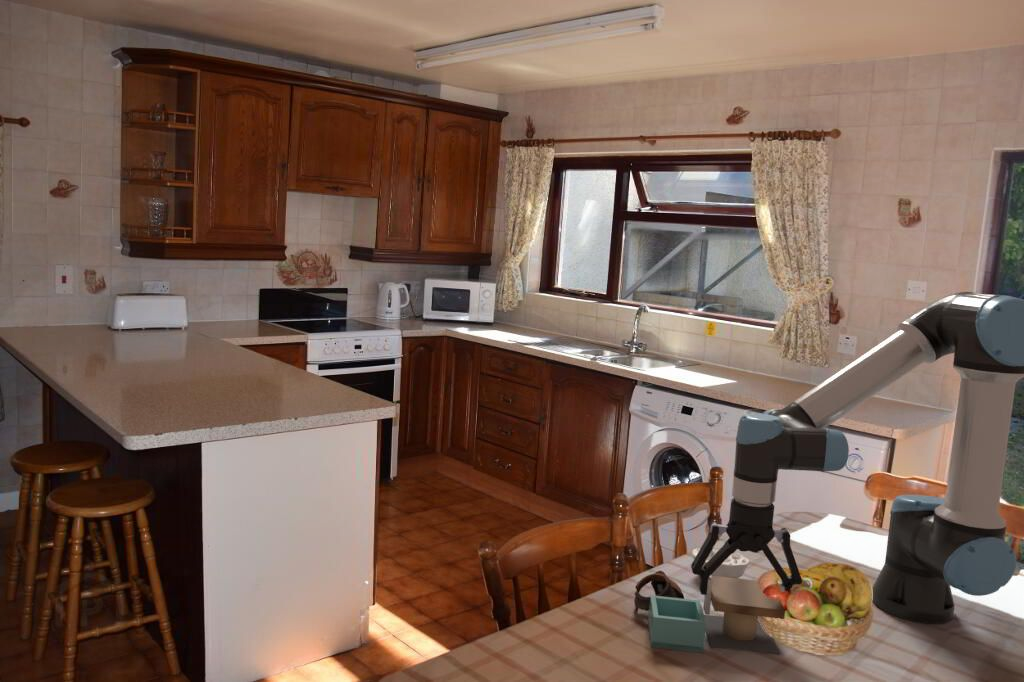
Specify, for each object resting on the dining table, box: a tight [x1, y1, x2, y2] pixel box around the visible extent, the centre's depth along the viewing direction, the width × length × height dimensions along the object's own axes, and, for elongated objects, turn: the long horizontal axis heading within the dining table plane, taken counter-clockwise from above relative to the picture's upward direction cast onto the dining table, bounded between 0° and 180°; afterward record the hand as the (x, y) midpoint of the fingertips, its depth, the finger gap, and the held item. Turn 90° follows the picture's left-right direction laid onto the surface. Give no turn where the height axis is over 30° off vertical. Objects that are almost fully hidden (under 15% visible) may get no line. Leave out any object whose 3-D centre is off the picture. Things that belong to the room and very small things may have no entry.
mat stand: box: [704, 612, 781, 655], centre depth 148 cm, size 12×12×6 cm
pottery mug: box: [633, 570, 685, 612], centre depth 157 cm, size 12×10×8 cm
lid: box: [711, 575, 786, 620], centre depth 148 cm, size 12×12×2 cm
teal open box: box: [647, 595, 706, 654], centre depth 146 cm, size 9×9×6 cm
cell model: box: [691, 547, 751, 579], centre depth 174 cm, size 10×12×7 cm
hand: (741, 614), depth 148 cm, fingers closed on lid, 12 cm apart
